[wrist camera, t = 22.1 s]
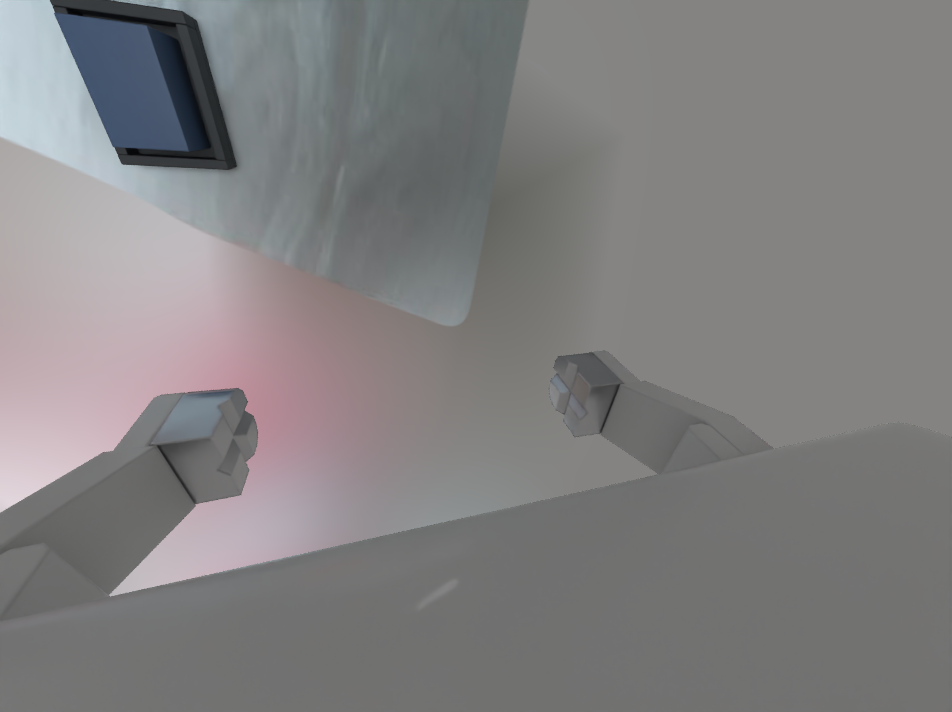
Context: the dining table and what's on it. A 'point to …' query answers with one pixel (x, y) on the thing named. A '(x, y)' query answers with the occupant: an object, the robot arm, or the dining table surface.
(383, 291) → the dining table surface
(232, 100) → the dining table surface
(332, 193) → the dining table surface
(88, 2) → the dark rectangular tray
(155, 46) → the dark blue rectangular block
